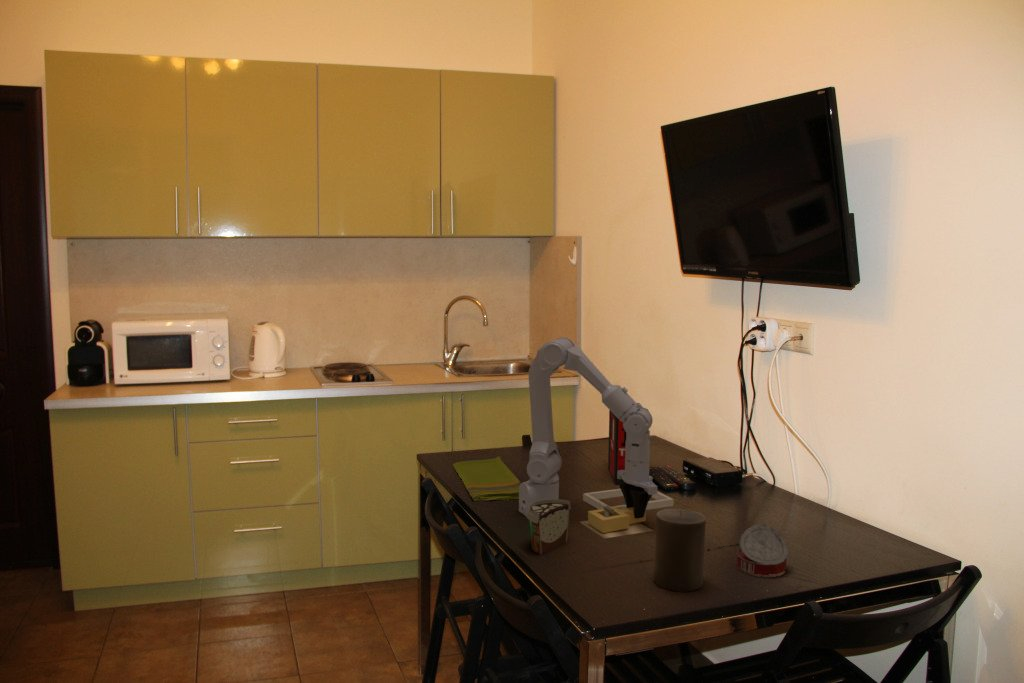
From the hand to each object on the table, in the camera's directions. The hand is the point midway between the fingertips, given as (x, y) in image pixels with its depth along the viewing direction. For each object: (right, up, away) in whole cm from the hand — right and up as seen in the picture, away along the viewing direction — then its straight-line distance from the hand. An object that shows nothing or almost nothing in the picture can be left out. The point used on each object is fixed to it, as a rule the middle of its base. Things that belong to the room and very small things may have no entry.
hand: (635, 515), depth 198 cm
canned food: (+23, -6, -24) cm, 34 cm away
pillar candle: (+4, -7, -32) cm, 33 cm away
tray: (0, -1, +16) cm, 16 cm away
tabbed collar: (-4, -2, -2) cm, 5 cm away
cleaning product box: (+4, +2, +42) cm, 42 cm away
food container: (-23, -4, -14) cm, 27 cm away
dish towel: (-36, +1, +36) cm, 51 cm away
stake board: (-5, -3, -2) cm, 6 cm away
